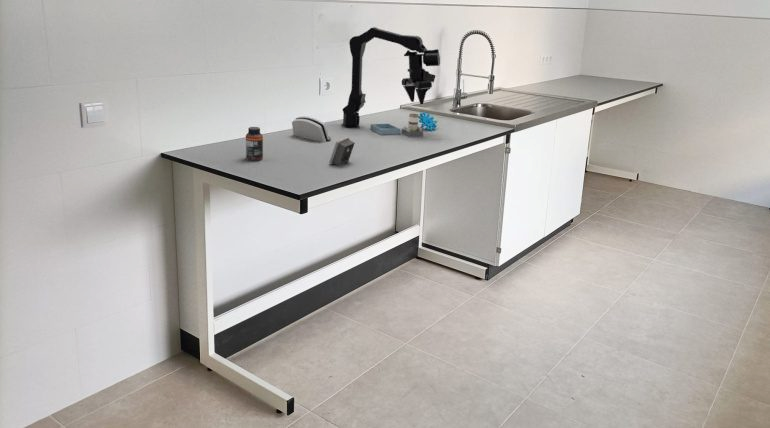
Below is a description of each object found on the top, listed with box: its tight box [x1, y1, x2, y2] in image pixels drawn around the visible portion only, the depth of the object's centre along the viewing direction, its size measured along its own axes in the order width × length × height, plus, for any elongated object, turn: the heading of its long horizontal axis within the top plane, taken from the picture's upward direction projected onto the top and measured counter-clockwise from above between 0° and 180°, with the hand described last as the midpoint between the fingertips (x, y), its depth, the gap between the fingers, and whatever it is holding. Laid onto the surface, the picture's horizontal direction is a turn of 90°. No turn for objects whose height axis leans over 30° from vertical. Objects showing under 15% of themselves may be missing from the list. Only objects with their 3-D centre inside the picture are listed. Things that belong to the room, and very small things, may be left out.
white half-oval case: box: [291, 116, 332, 143], centre depth 270 cm, size 17×5×10 cm, turn 57°
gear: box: [418, 111, 438, 132], centre depth 304 cm, size 11×6×10 cm
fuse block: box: [401, 126, 424, 138], centre depth 290 cm, size 7×7×3 cm
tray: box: [370, 123, 401, 136], centre depth 292 cm, size 9×11×2 cm
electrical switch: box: [329, 136, 356, 167], centre depth 236 cm, size 9×5×9 cm, turn 158°
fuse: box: [407, 113, 420, 131], centre depth 289 cm, size 4×4×7 cm
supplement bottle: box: [245, 126, 264, 162], centre depth 233 cm, size 6×6×11 cm
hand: (417, 103), depth 287 cm, fingers open, 9 cm apart
